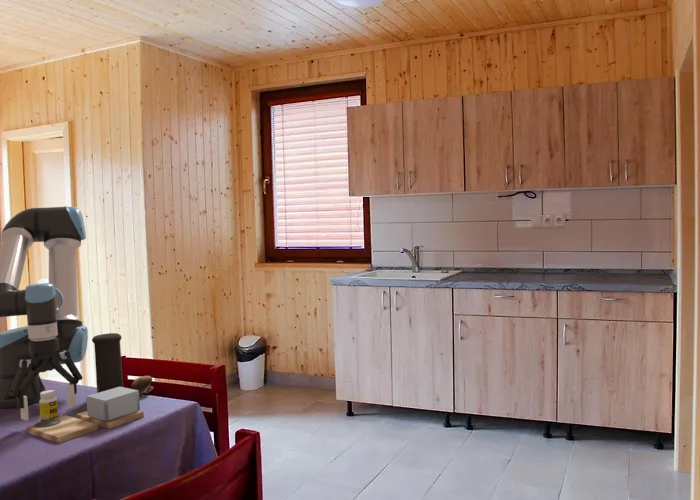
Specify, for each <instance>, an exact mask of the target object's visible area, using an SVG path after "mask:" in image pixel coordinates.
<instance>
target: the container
mask: <svg viewBox="0 0 700 500" xmlns="http://www.w3.org/2000/svg"><path fill="white" fill-rule="evenodd" d="M121 341H122V335H121V334H119V333H114V332H113V333H112V332H110V333H104V334H103V333H102V334H97V335H93V337H92V339H91V342H92V343H93V345H94V358H95V359H94V360H95V361H94V362H95V376H96V377H95V378H96V393H99V392H103V391H106V390H110V389H113V388H117V387H124V377H123V376H124V375H123V366H122V364H123V363H122V352H121V351H122V350H121ZM124 388H125V387H124Z"/></svg>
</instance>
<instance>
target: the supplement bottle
mask: <svg viewBox="0 0 700 500" xmlns="http://www.w3.org/2000/svg"><path fill="white" fill-rule="evenodd" d="M40 398H41V399H40V401H39V402H38V403H39V404H38V405H39V419H40V421H44V420H48V419H55V418H58V417H60V416H59V415H60V414H59V405H58V404H59V400H58V398H57V393H56V390H55V389H49V390H46V391H43V392H41V393H40Z"/></svg>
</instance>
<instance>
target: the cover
mask: <svg viewBox="0 0 700 500" xmlns="http://www.w3.org/2000/svg"><path fill="white" fill-rule="evenodd" d="M140 404H141V403H140V395H139V391H138V390H134V389H131V388H128V387H117V388H113V389H110V390H106V391H103V392H99V393H97V392H96V393H93V394H90V395H86V411H88V416H89V417H93V418H96V419H100V420H104V421H109V420H112V419H115V418H118V417H121V416H124V415H127V414H130V413H133V412H136V411H141V407H140Z"/></svg>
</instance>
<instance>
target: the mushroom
mask: <svg viewBox="0 0 700 500" xmlns="http://www.w3.org/2000/svg"><path fill="white" fill-rule="evenodd" d="M152 381H153V378H152V376H150V375H143V376H139V377H137V378H135V379H134V380H133V382H132V384H131V386H130V389H134V390H138V391H139V396H140V395H141V394H143V393H144V394H149V393H150V392H151V391H153V389H154V388H155V387H154V386H151V383H152Z"/></svg>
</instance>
